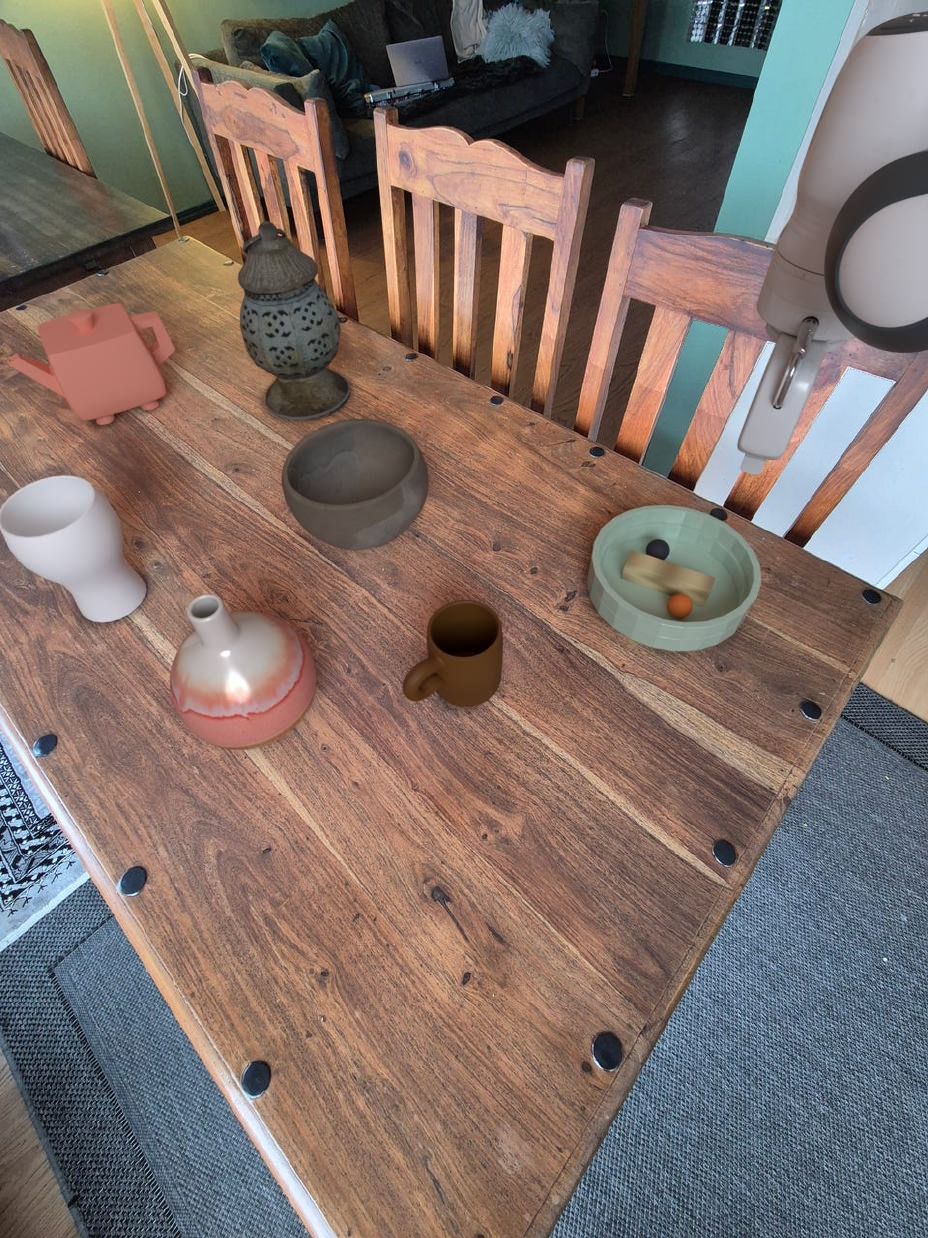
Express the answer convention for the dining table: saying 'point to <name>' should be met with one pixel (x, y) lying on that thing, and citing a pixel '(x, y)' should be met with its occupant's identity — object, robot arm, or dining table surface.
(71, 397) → the teapot
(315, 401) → the lantern
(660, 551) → the bead
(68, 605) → the dining table surface
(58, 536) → the cup
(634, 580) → the stick
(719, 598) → the bowl
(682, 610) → the bead
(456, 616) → the mug
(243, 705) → the vase
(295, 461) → the bowl
